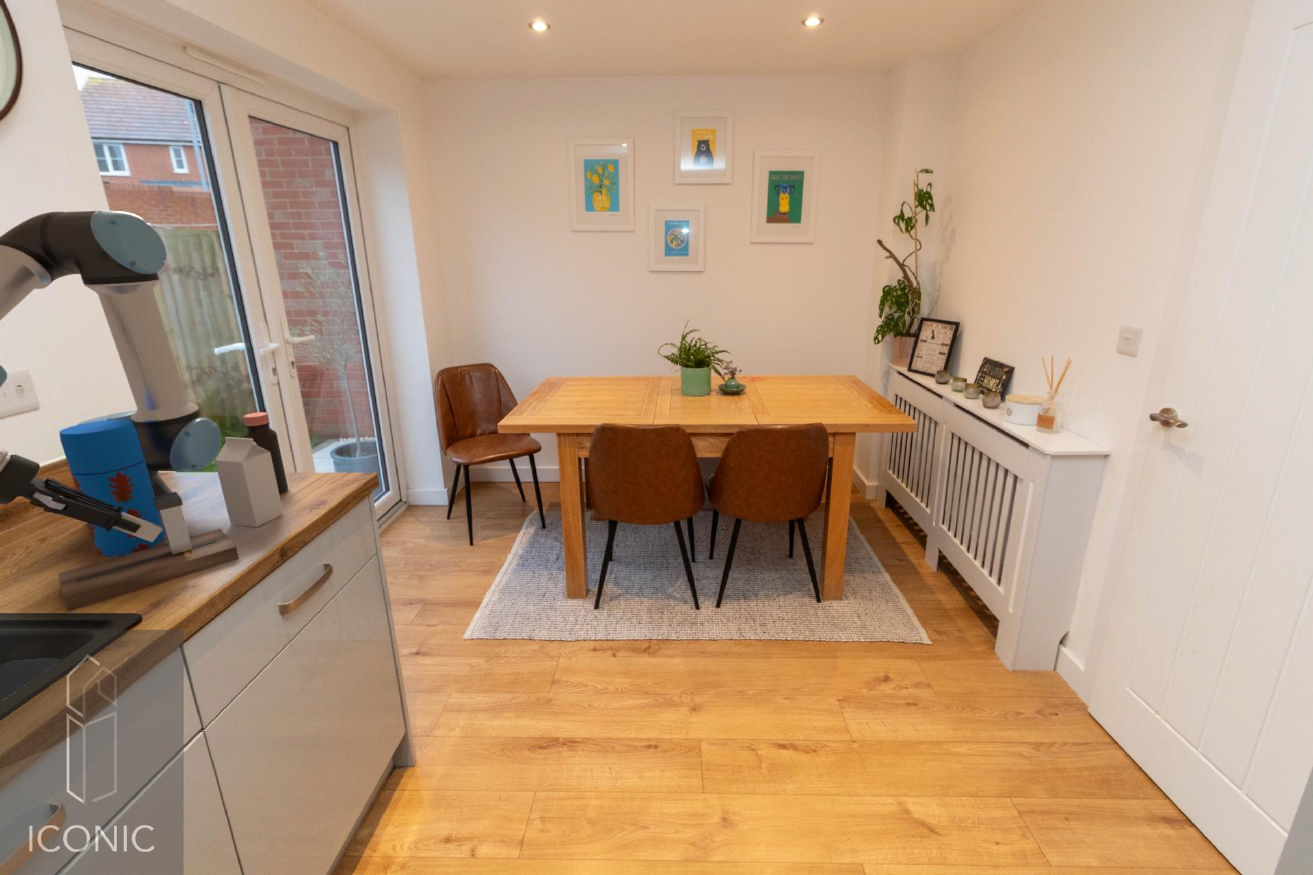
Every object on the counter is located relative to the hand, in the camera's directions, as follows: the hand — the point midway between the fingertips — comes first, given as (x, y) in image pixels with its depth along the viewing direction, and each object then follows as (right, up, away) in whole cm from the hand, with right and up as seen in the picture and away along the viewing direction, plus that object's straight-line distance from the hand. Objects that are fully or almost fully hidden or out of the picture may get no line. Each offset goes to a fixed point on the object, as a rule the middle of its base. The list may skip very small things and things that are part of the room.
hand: (156, 534), depth 108 cm
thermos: (-15, -4, +12) cm, 20 cm away
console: (-1, -7, +1) cm, 7 cm away
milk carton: (+3, -1, +23) cm, 23 cm away
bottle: (-4, +4, +38) cm, 39 cm away
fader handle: (+2, -3, +3) cm, 5 cm away
